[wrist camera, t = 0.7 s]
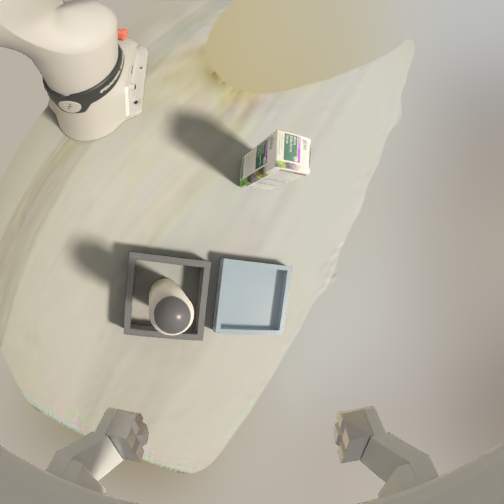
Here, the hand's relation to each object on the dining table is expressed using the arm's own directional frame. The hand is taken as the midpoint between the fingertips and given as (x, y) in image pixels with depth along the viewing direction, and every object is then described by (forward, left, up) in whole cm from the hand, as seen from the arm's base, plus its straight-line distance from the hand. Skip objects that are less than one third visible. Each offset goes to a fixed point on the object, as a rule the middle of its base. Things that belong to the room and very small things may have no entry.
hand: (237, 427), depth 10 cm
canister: (+1, 0, -38) cm, 38 cm away
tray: (0, +15, -38) cm, 41 cm away
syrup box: (-22, +13, -38) cm, 46 cm away
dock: (+1, 0, -38) cm, 38 cm away
